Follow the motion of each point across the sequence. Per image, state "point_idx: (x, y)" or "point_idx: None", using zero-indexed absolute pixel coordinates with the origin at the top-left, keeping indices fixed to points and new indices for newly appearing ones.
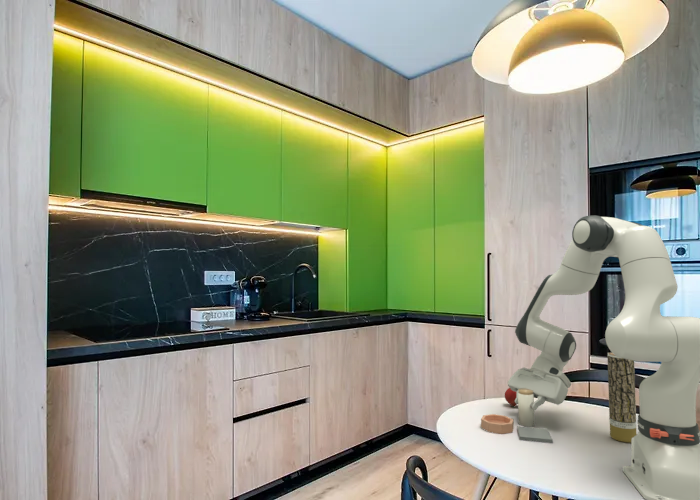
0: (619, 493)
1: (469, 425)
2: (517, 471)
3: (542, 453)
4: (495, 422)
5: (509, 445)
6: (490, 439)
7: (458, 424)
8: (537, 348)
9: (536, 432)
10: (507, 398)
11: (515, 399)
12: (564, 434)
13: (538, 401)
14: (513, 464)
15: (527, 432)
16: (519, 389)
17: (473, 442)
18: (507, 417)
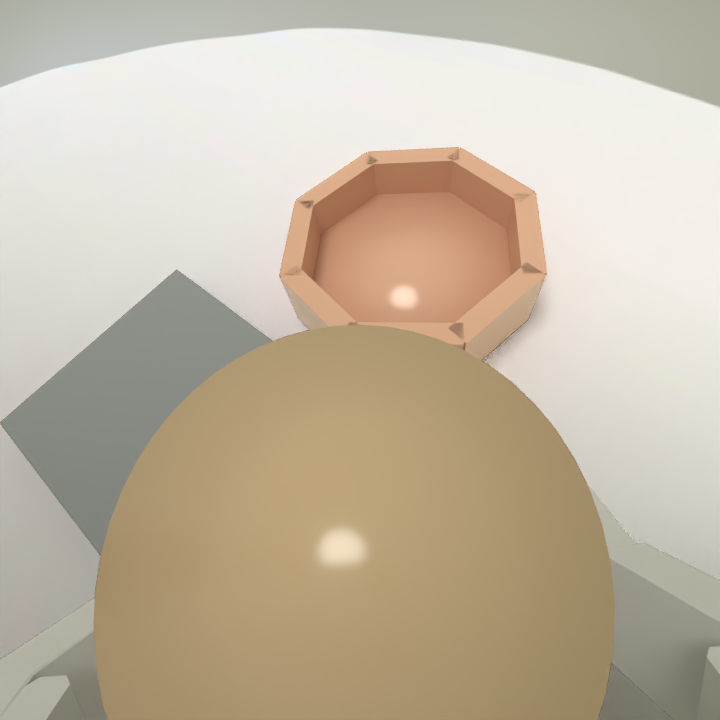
0: None
1: (521, 164)
2: (15, 110)
3: (9, 274)
4: (451, 271)
5: (174, 199)
6: (282, 163)
7: (557, 124)
8: None
9: (148, 421)
10: None
11: (594, 498)
12: None
13: (62, 627)
14: (52, 123)
15: (189, 358)
16: (477, 390)
17: (294, 94)
18: (414, 330)
